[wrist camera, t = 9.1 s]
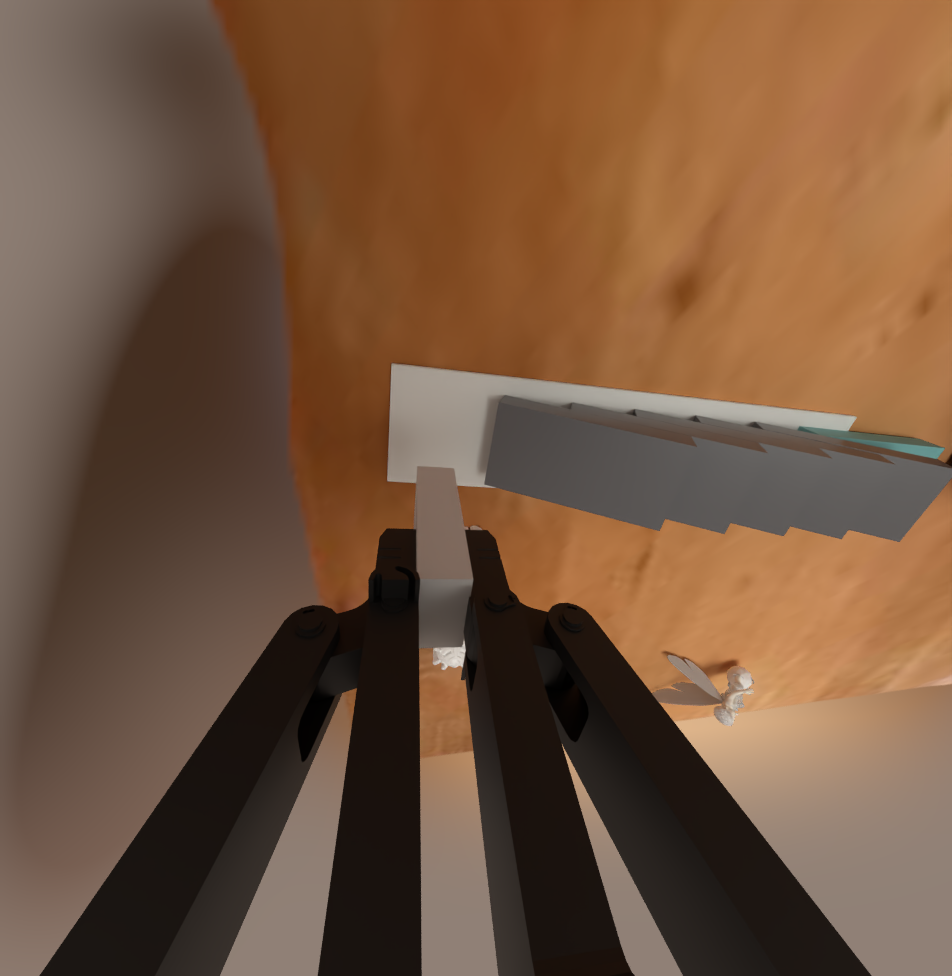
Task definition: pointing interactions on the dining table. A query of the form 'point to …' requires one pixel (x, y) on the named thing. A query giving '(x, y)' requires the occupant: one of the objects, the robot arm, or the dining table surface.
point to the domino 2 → (705, 472)
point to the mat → (475, 396)
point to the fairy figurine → (707, 690)
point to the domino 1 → (587, 461)
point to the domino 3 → (769, 477)
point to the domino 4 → (830, 482)
